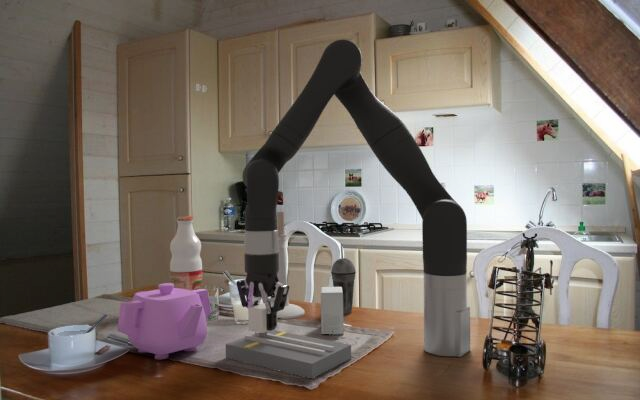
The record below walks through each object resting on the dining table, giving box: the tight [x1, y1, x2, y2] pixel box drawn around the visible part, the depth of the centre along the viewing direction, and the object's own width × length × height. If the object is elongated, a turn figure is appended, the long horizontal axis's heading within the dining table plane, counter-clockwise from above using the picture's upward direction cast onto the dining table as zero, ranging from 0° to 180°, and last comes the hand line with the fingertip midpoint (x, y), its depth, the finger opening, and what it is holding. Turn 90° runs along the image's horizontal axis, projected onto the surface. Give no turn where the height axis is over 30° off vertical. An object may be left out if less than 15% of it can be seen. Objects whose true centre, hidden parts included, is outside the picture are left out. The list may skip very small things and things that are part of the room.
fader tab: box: [247, 302, 278, 338], centre depth 116 cm, size 4×5×7 cm
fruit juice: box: [169, 215, 203, 291], centre depth 159 cm, size 9×9×28 cm
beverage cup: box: [330, 243, 357, 315], centre depth 153 cm, size 7×7×20 cm
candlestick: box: [276, 209, 306, 320], centre depth 152 cm, size 13×13×30 cm
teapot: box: [116, 282, 212, 360], centre depth 120 cm, size 19×18×15 cm
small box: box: [320, 286, 345, 336], centre depth 134 cm, size 8×6×10 cm
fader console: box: [225, 329, 352, 379], centre depth 113 cm, size 23×14×4 cm, turn 55°
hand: (263, 327), depth 116 cm, fingers closed on fader tab, 4 cm apart
